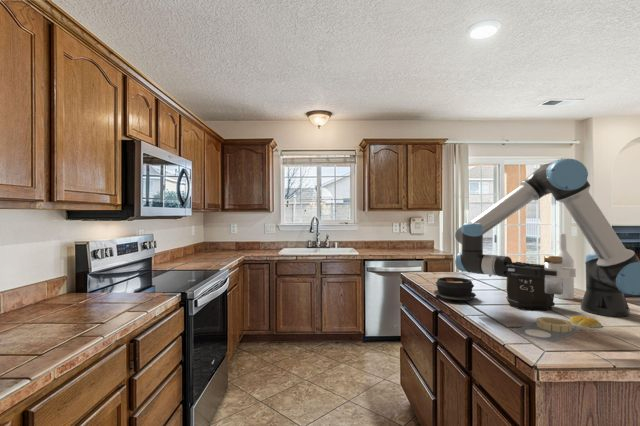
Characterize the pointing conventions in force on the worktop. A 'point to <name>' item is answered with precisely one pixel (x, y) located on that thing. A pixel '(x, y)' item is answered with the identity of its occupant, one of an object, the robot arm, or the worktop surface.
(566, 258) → the bottle
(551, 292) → the jar with brown lid
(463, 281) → the casserole
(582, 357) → the worktop surface
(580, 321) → the bread roll
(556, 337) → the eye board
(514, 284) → the labelled black crock
